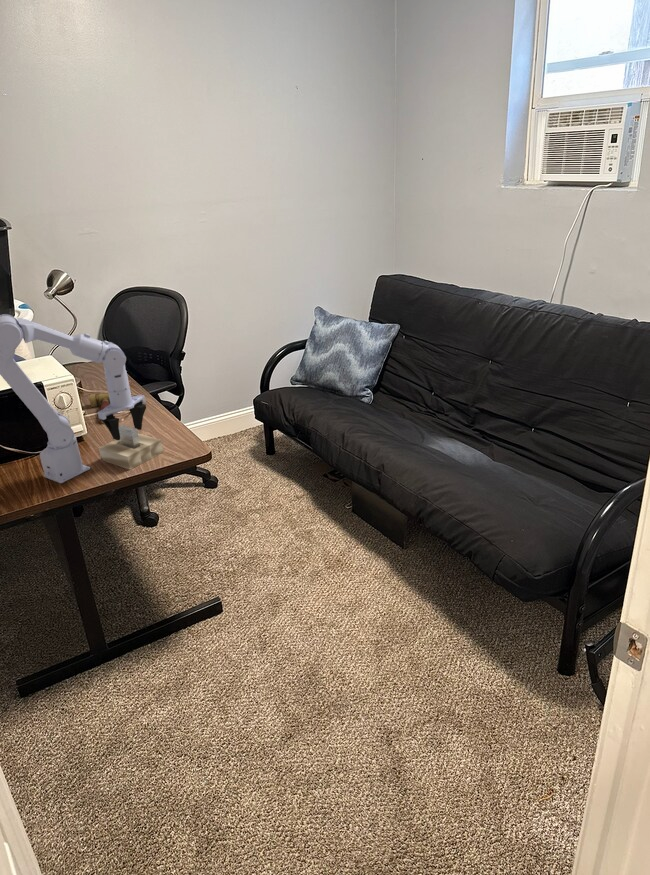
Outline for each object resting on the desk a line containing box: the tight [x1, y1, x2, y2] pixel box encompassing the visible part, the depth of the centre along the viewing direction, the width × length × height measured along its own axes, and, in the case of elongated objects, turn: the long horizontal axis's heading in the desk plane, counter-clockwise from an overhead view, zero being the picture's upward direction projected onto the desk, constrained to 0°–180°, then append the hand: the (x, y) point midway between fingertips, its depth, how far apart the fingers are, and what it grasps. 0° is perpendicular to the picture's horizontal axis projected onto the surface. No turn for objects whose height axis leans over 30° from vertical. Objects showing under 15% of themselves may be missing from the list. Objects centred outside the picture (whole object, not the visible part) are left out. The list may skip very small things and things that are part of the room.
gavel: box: [88, 392, 110, 424], centre depth 204 cm, size 21×5×10 cm
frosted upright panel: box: [119, 424, 140, 449], centre depth 171 cm, size 2×6×9 cm, turn 57°
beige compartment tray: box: [98, 432, 164, 471], centre depth 172 cm, size 12×12×4 cm
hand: (127, 434), depth 170 cm, fingers open, 7 cm apart
